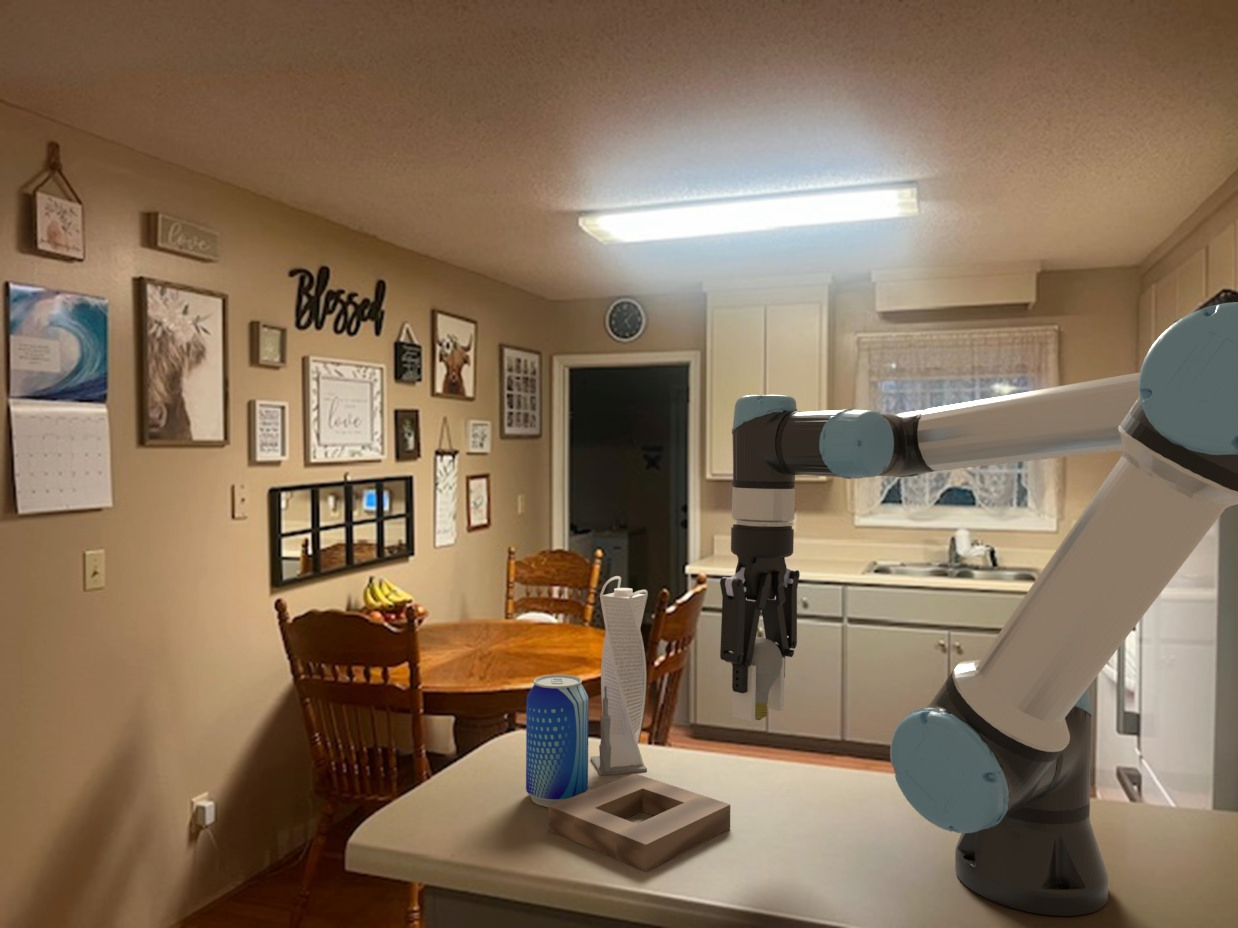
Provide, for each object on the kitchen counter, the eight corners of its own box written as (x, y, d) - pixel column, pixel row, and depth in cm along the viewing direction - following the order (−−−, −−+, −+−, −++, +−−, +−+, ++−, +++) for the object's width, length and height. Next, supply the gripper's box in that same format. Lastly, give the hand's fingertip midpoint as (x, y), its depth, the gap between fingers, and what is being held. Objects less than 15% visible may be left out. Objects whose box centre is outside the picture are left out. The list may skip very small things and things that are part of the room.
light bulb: (780, 727, 104) (781, 643, 104) (733, 724, 105) (735, 640, 105) (782, 714, 110) (783, 634, 109) (737, 711, 111) (739, 631, 111)
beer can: (599, 794, 121) (600, 677, 121) (563, 814, 114) (564, 691, 114) (550, 782, 126) (551, 669, 126) (513, 801, 119) (513, 682, 119)
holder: (730, 828, 110) (730, 804, 110) (645, 871, 98) (646, 844, 98) (634, 794, 121) (634, 772, 121) (548, 829, 109) (548, 805, 109)
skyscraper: (588, 756, 137) (589, 575, 137) (639, 752, 139) (640, 574, 139) (600, 775, 129) (601, 583, 129) (654, 770, 130) (655, 581, 130)
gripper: (778, 517, 116) (775, 692, 117) (690, 524, 103) (686, 721, 103) (829, 521, 111) (825, 704, 112) (742, 529, 98) (738, 737, 98)
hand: (758, 712), depth 107 cm, fingers closed on light bulb, 5 cm apart
